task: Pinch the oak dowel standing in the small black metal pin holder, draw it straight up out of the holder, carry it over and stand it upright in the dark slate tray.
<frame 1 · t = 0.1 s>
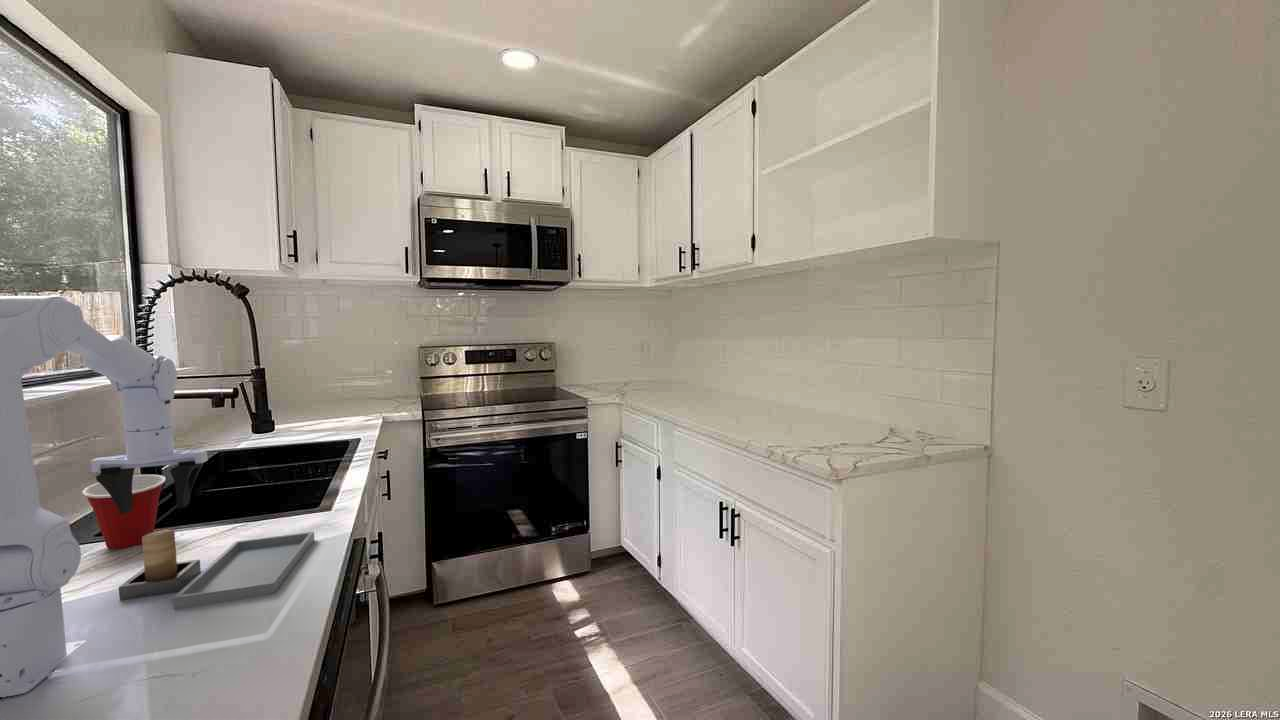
hand: (155, 509, 84), 10 cm above the counter, fingers open, 7 cm apart
oak dowel: (162, 585, 78), point 1 cm above the counter, touching pin holder
pin holder: (162, 588, 78), on the counter
slate tray: (254, 573, 82), on the counter
plastic cup: (130, 546, 94), on the counter
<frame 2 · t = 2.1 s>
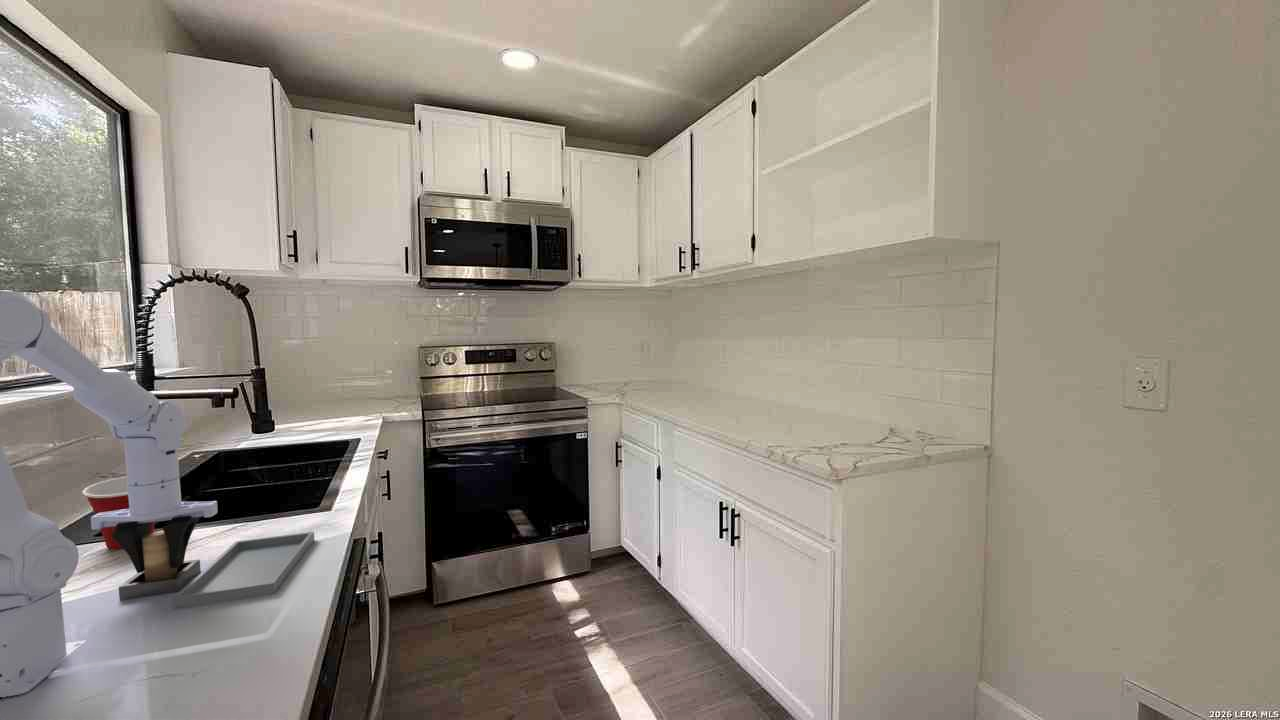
hand: (161, 567, 78), 3 cm above the counter, fingers closed on oak dowel, 4 cm apart
oak dowel: (162, 585, 78), point 1 cm above the counter, touching gripper, pin holder
everything else where it was.
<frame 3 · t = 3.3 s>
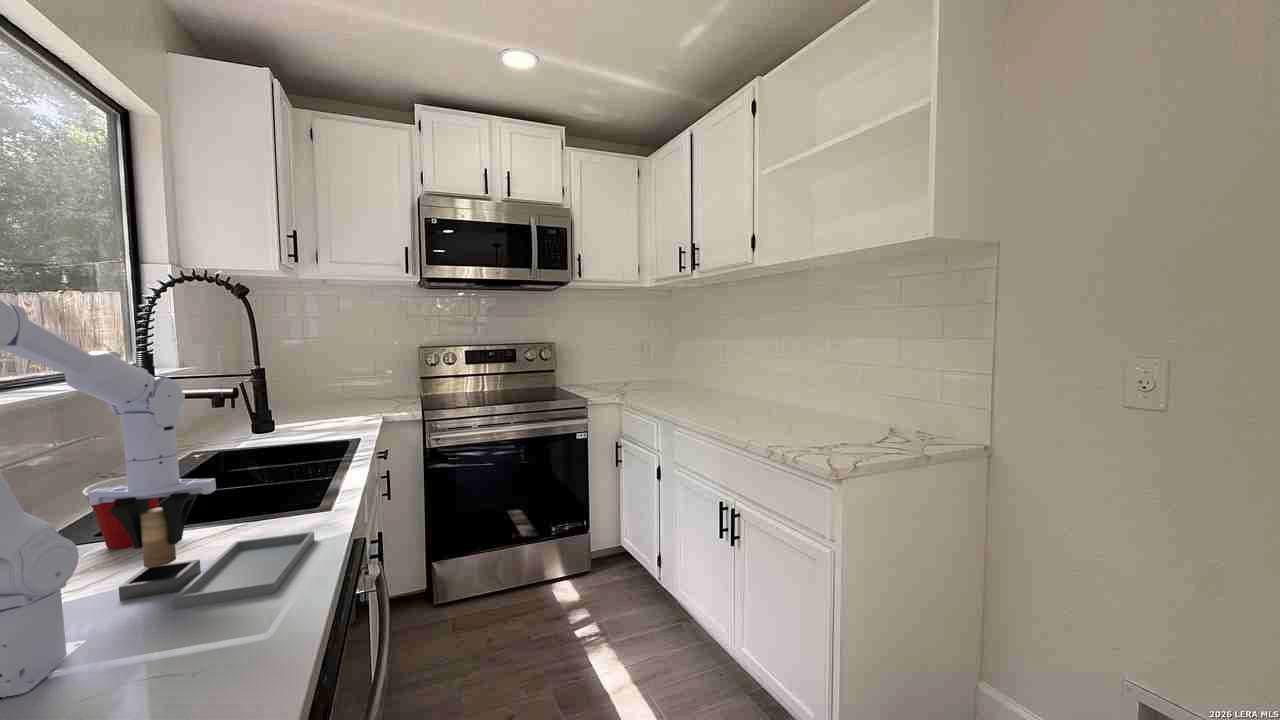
hand: (158, 544, 77), 7 cm above the counter, fingers closed on oak dowel, 4 cm apart
oak dowel: (160, 562, 77), point 4 cm above the counter, touching gripper
everything else where it was.
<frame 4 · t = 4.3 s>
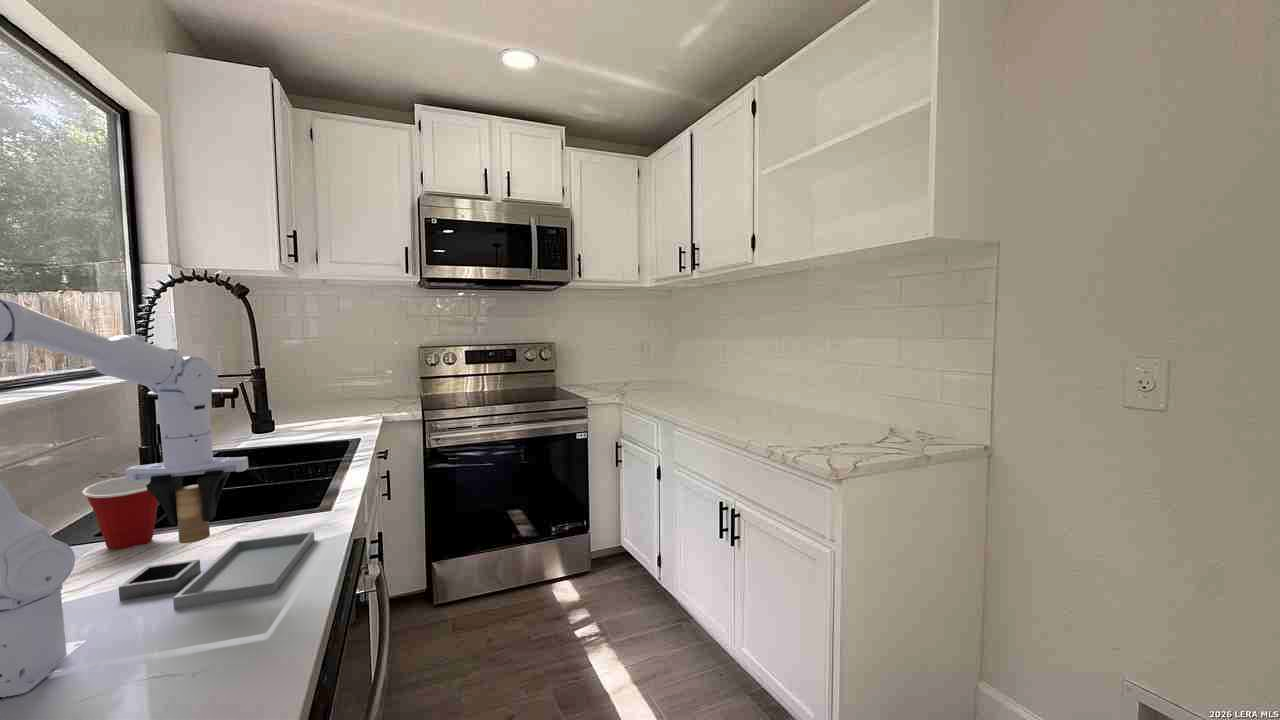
hand: (193, 520, 79), 10 cm above the counter, fingers closed on oak dowel, 4 cm apart
oak dowel: (194, 538, 79), point 7 cm above the counter, touching gripper
everything else where it was.
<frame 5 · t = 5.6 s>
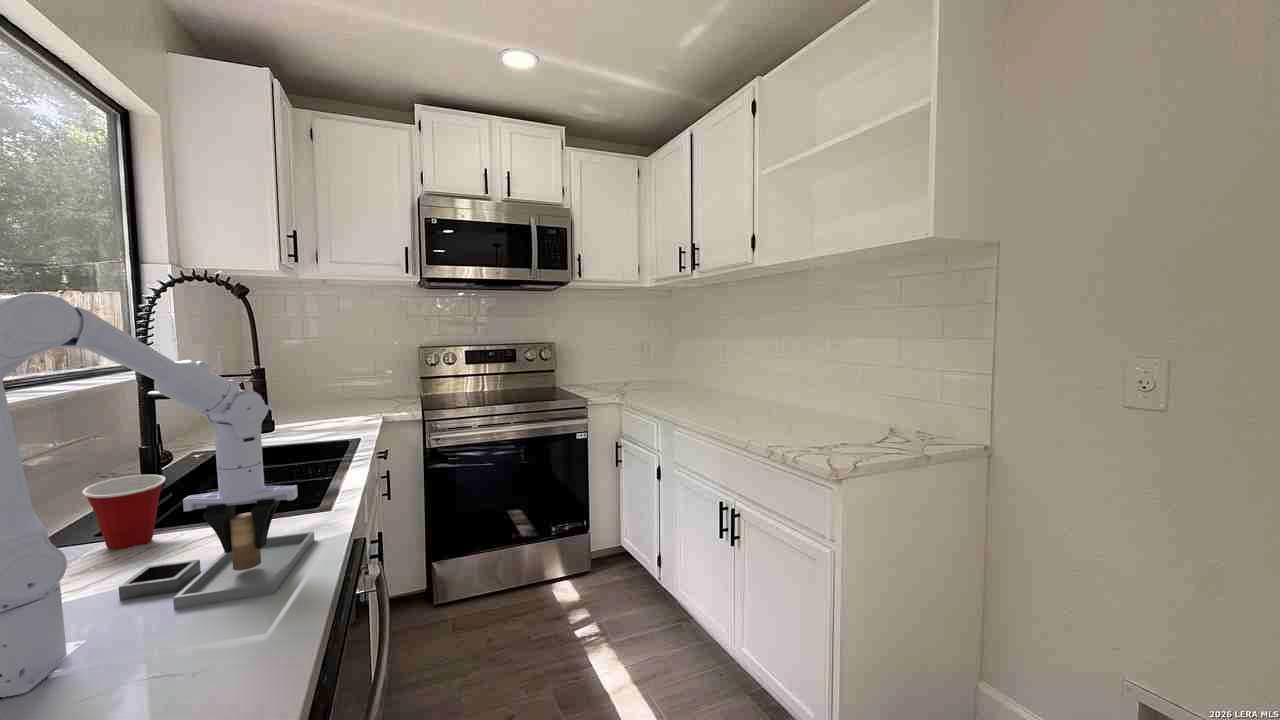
hand: (246, 548, 81), 5 cm above the counter, fingers closed on oak dowel, 4 cm apart
oak dowel: (247, 565, 81), point 2 cm above the counter, touching gripper
everything else where it was.
when the fingers open (5 cm above the counter, at t = 6.4 s): oak dowel moves 1 cm, resting on slate tray.
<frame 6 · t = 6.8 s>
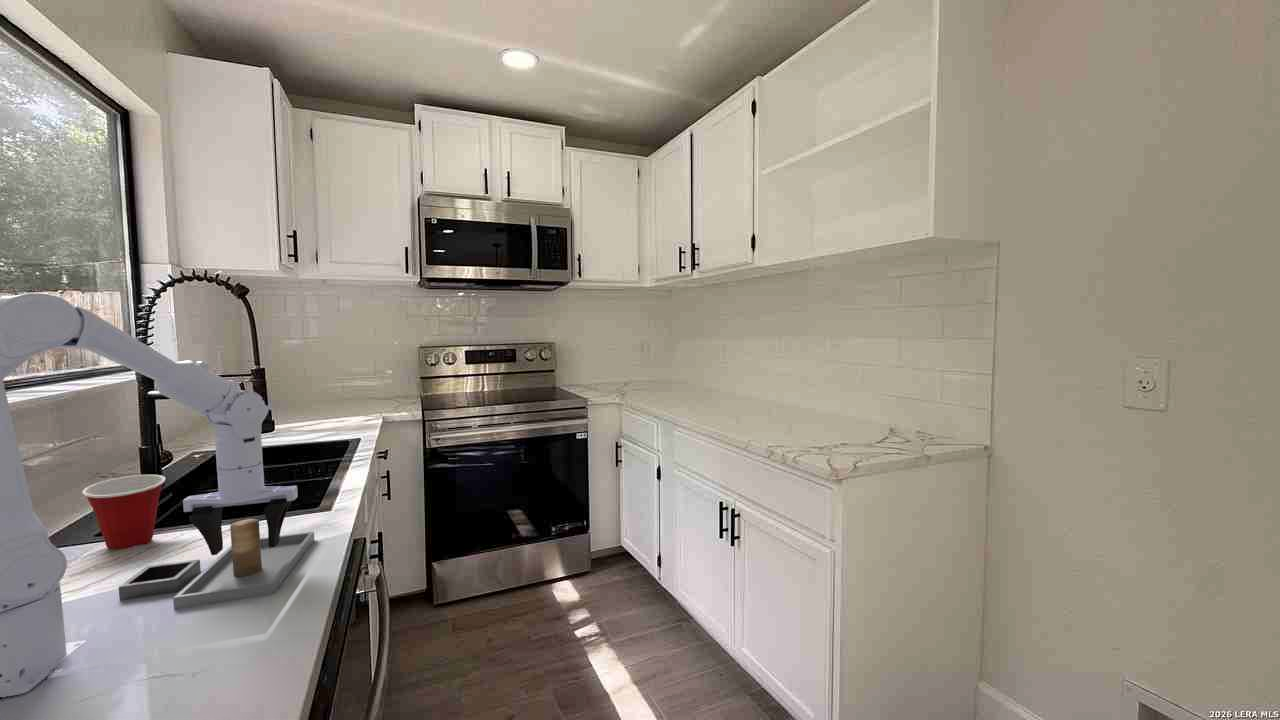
hand: (246, 548, 81), 5 cm above the counter, fingers open, 7 cm apart
oak dowel: (247, 571, 81), point 1 cm above the counter, touching slate tray
everything else where it was.
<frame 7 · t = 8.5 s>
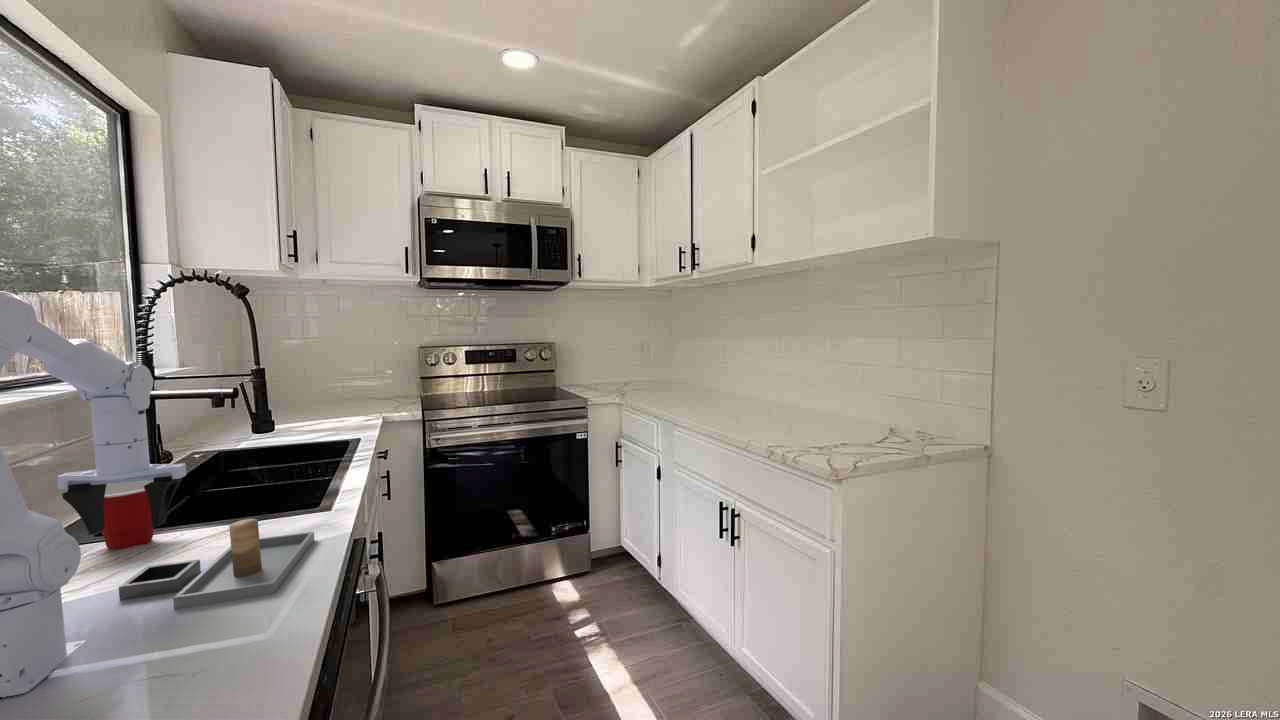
hand: (128, 528, 78), 9 cm above the counter, fingers open, 7 cm apart
nothing on the counter moved.
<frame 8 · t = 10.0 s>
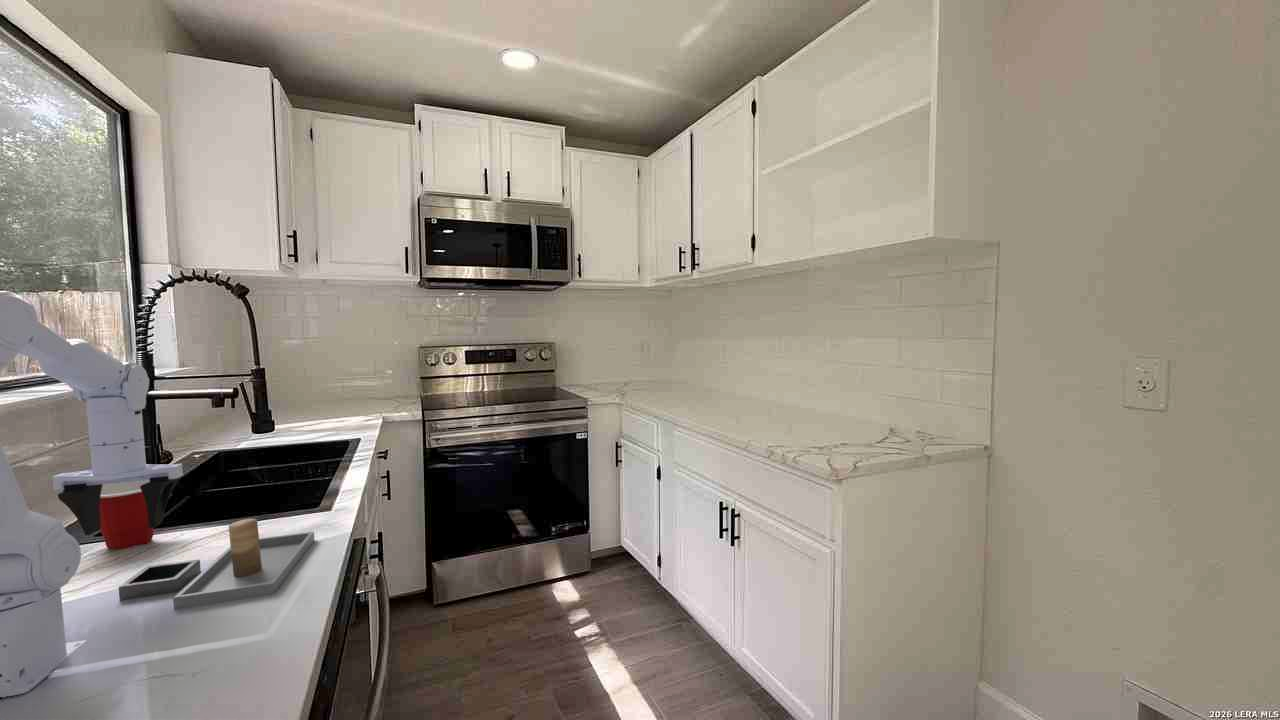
hand: (124, 528, 77), 9 cm above the counter, fingers open, 7 cm apart
nothing on the counter moved.
at the end: oak dowel inside the target area on the slate tray (1.0 cm from its centre), point 0.8 cm above the slate tray's base; the gripper is holding nothing; oak dowel tilted 1° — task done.
